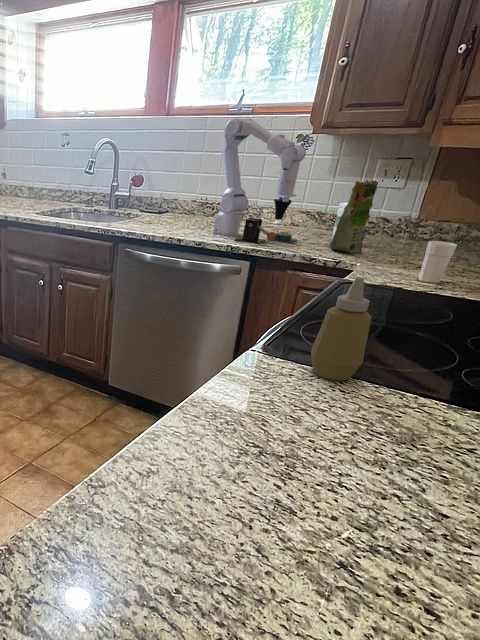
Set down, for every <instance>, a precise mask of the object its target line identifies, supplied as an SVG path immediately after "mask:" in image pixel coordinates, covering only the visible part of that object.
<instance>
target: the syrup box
mask: <svg viewBox="0 0 480 640" xmlns="http://www.w3.org/2000/svg"><path fill="white" fill-rule="evenodd" d="M347 204H348V202H340V203H339V206H338V210H337V214H336V218H335V221H334V225H333V229H332V232H331V237H330V240H331V241H332V239H333V236H334V234H335V231H336V228H337V224H338V222H339V219H340V217H341V216H342V214H343V212H344V208H345V207H346V205H347Z"/></svg>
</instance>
